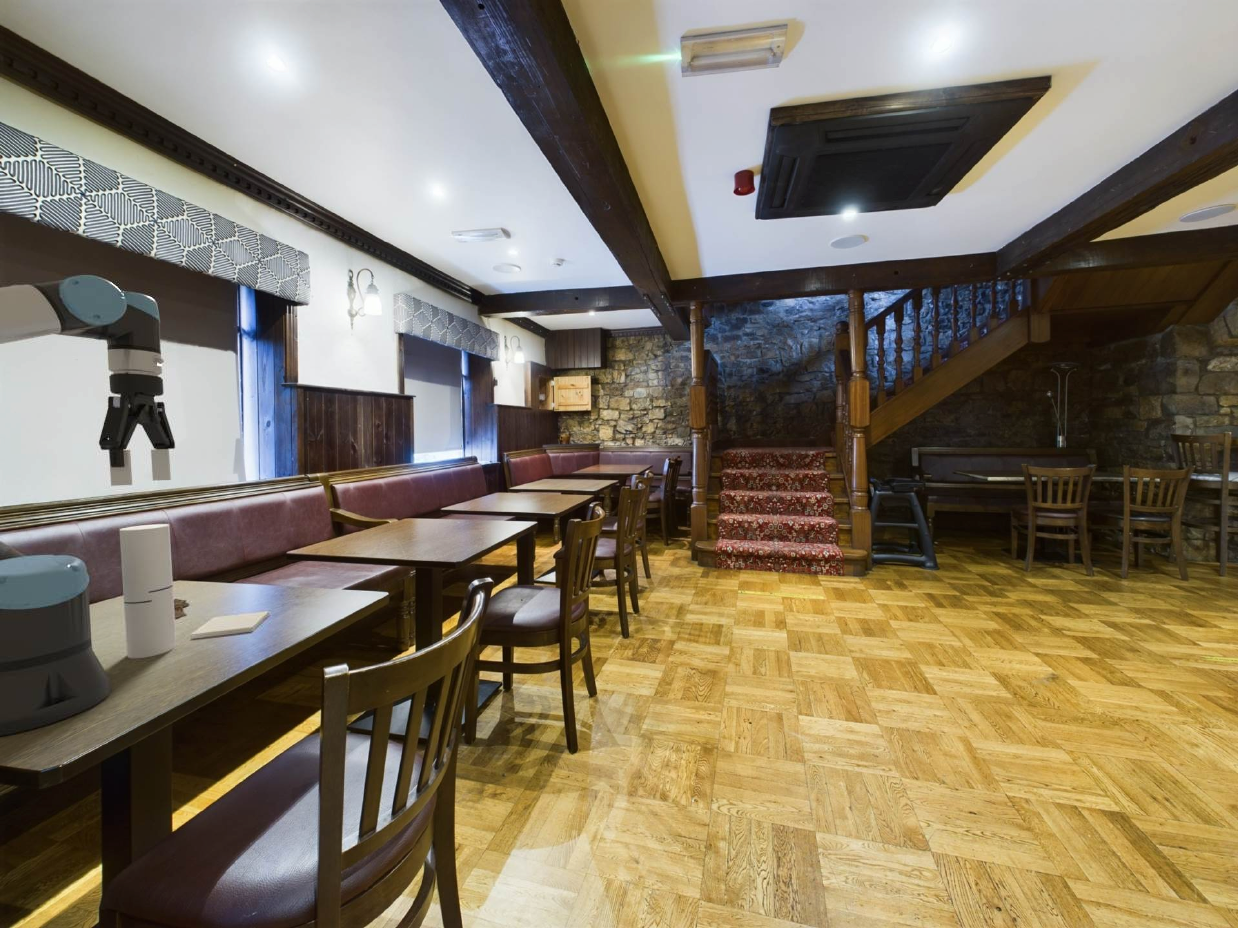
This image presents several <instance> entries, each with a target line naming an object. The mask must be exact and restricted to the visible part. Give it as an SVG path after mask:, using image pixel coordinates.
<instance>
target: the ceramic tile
mask: <svg viewBox="0 0 1238 928" xmlns="http://www.w3.org/2000/svg"><path fill="white" fill-rule="evenodd" d="M268 617H270V610H268V611H266V610H265V611H259V612H258V611H257V612H250V613H241V614H232V615H231V614H230V615H223V616H220V615H219V616H213V617H212V618H211V619H209V620H208V621H206V623H204V624H203V625H201V626H200V627H198V628H196V630H195V631H193V632H191V634H190V640H194V639H202V638H210V637H218V636H225V635H227V636H228V635H236V634H244V633H250V632H251V633H252V632H254V630H256V629H257V628H258V626H260V625H261V624H262V623H264V622H265V620H266V619H267V618H268Z"/></svg>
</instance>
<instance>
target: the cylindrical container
mask: <svg viewBox="0 0 1238 928" xmlns="http://www.w3.org/2000/svg"><path fill="white" fill-rule="evenodd" d="M170 530H171V528H170V524H169V523H168V524H167V523H157V524H144V525H134V526H128V527H124V528H119V542H120V545H119V546H120V560H121V575H122V592H123V602H124V603H123V608H124V621H125V638H126V656H127V658H129V659H143V658H149V657H155V656H158V655H162V654H164V653H167V652H169V651H171V650H173V649H175V648H176V647H177V636H176V621H175V620H176V619H175V614H174V599H175V598H174V597H175V596H174V585H173V584H174V582H173V568H172V567H173V565H172V563H173V562H172V550H171V549H172V548H171V547H172V546H171V545H172V544H171V531H170Z"/></svg>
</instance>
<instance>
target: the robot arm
mask: <svg viewBox="0 0 1238 928" xmlns="http://www.w3.org/2000/svg"><path fill="white" fill-rule="evenodd" d="M51 335H59V336H66V337H67V336H68V337H76V338H83V339H84V338H85V339H93V340H98V341H106V344H107V345H106V346H107V363H108V371H109V372H112V373H111V374H110V375H108V378H109V391H110V393H112V394H113V396H108V398H107V411H106V414H105V418H104V422H103V425H102V428H101V433H100V437H99V441H98V445H99V447H100V450H102V451H108V455H109V472H110V486H111V487H112V486H113V487H114V486H132V485H133V473H132V472H133V471H132V458H131V457H132V456H131V449H128V448H127V447H128V445H129V443H130V441H131V439H132V437H133V434H134V432H135V431H136V428H137V426H138V425H140V426H142V428H143V430H144V432H145V434H146V436H147V438H148V440H149V442H150V443H151V445H152V448H153V449H150V456H151V457H150V458H151V459H150V460H151V472H152V481H171V480H172V478H171V463H170V461H171V460H170V450H175V448H176V443H175V442H176V441H175V439H174V436H173V435H174V434H173V433H172V429H171V426H170V423H169V420H168V417H167V413H166V408H165V402H164V401H155V397H159V396H163V395H164V380H163V378H162V377H161V376H160V375H162V374H163V367H162V364H163V363H164V362H165V360H164V358H162V351H161V319H160V313H159V307H158V303H157V302H156V300H155V299H154V298H153V297H151V296H149V295H146V294H144V293H138V292H134V291H133V292H132V291H125V290H120V288H118V286H116V285H115V284H114V283H112V282H111V281H109V280H107V279H105V278H103V277H100V276H97V275H92V274H91V275H90V274H80V275H73V276H68V277H67V278H65V279H61V280H55V281H53V280H52V281H45V282H37V283H32V284H13V285H9V286H2V287H0V345H3V344H9V343H14V342H19V341H23V340H24V341H25V340H29V339H35V338H39V337H45V336H51ZM114 395H117V396H114ZM118 395H119V396H118ZM87 570H88V569H87V565H86V563H85V562H84V561H83V560H82V559H80V558H78V557H75V556H72V555H65V554H64V555H63V554H60V555H55V554H39V555H25V554H24V553H21V552H20V551H18V550H16V549H15V548H13V547H11V546H9V544H8V545H7V544H6V543H5V542H2V541H1V540H0V737H1V736H8V735H12V734H16V733H22V732H26V731H28V730H32V729H33V730H34V729H37V728H40V727H43V726H47V725H50V724H53V723H55V722H56V723H57V722H59V721H63V720H65V719H67V718H70V717H72V716H75V715H77V714H80V713H83V712H84V711H86V710H88V709H90V708H93V706H96V705H97V704H99V703H101V702H102V701H104V700H105V699H106V698H107V697H109V695H110V694H111V684H110V676H109V675H108V674H107V672H106V669H104V666H103V665H102V663H101V662H100V659H99V658H98V656H97V655H96V653H95V651H94V650H93V649H94V648H93V644H92V628H91V626H92V625H91V610H90V595H89V594H90V593H89V583H90V575H89V574H88V571H87Z"/></svg>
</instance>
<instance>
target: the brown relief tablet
mask: <svg viewBox="0 0 1238 928" xmlns="http://www.w3.org/2000/svg"><path fill="white" fill-rule="evenodd" d="M187 606H190V602H187V600H186V599H179V598H174V614H175V620H178V619H181V618H183V617H185V616H187V614H186V613H185V612H184V609H185V608H186V607H187Z"/></svg>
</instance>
